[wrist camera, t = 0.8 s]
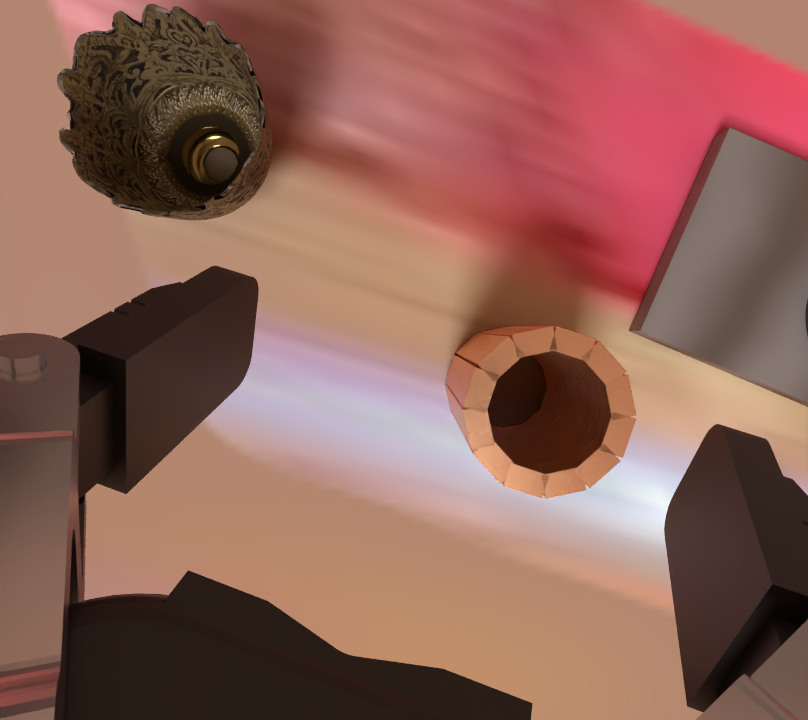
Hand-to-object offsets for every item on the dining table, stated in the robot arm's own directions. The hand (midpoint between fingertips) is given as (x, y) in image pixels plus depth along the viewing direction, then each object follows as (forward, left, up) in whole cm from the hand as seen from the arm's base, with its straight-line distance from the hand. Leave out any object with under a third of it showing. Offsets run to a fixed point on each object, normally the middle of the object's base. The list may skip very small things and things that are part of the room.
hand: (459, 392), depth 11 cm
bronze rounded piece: (-13, -1, -21) cm, 24 cm away
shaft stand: (+13, +17, -20) cm, 29 cm away
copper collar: (+4, +2, -20) cm, 21 cm away
